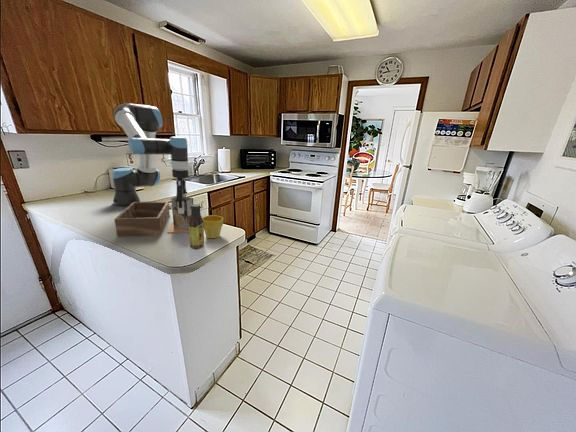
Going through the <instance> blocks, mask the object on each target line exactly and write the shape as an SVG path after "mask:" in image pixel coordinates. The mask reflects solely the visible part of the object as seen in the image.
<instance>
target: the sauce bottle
mask: <svg viewBox="0 0 576 432" xmlns="http://www.w3.org/2000/svg"><path fill="white" fill-rule="evenodd" d="M201 209H202V207H201V204H198V203H197V204H196V203H195V204H194V203H193V205H191V217H190V219H189V232H188V233H189V235H188V236H189V246H190V248H191V249H192V250H193V249H194V250H198V249H201V248H203V247H205V230H204V222H203V219H202V218H203V217H202V214H201Z"/></svg>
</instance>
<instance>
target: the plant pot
mask: <svg viewBox="0 0 576 432" xmlns="http://www.w3.org/2000/svg"><path fill="white" fill-rule="evenodd" d="M202 219H203V222H204V235H205V237H206V238H207V239H210V238H215V239H217V238H216V237H218V238H219V237H220V236H221V232H222V231H221V230H222V226H223V225H224V217H223V216H220V215H215V214H212V215H205V216H203V217H202Z"/></svg>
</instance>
